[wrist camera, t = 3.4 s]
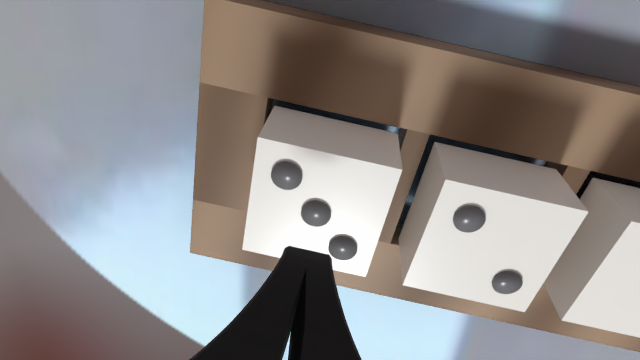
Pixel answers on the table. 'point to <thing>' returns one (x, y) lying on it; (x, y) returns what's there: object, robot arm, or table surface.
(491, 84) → the tile board
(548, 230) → the two dot tile
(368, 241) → the three dot tile
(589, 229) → the one dot tile
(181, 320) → the table surface
